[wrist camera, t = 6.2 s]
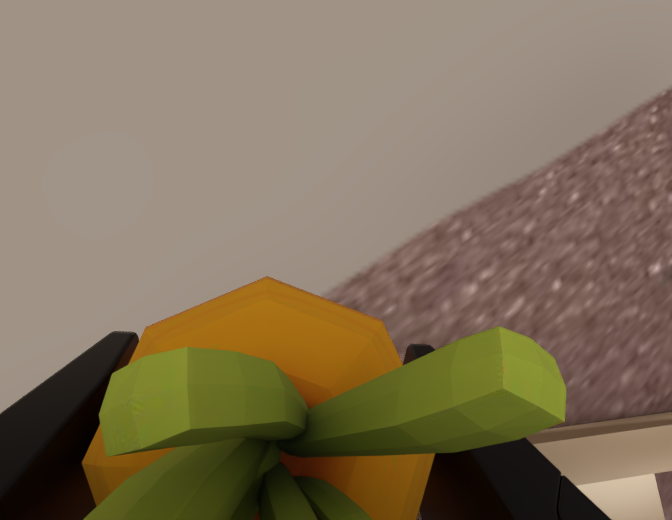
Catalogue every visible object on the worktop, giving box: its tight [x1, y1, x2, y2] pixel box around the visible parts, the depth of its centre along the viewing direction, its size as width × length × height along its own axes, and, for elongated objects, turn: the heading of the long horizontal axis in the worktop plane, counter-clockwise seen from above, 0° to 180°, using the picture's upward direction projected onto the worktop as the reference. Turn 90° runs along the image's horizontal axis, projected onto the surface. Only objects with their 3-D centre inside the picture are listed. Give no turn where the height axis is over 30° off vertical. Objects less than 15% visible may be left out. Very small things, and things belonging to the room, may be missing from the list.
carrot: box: [82, 276, 566, 520], centre depth 10 cm, size 5×5×15 cm
